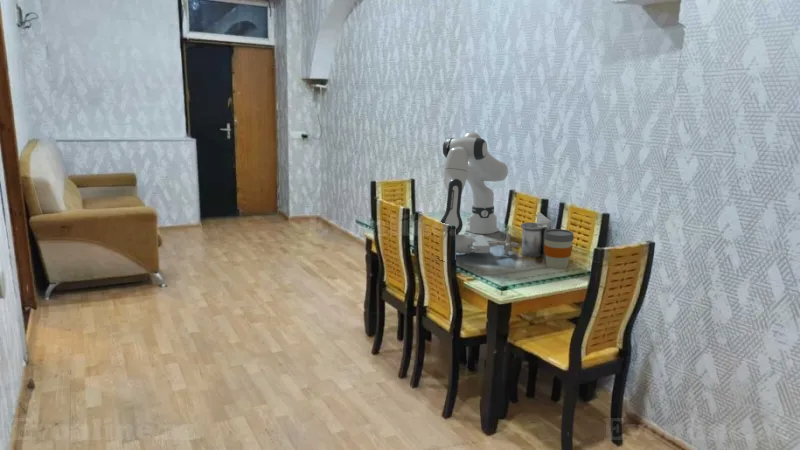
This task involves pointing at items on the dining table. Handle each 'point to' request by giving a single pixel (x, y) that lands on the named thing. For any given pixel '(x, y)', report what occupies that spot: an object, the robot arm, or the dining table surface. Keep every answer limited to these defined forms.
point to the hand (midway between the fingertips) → (496, 243)
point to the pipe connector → (507, 243)
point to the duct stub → (535, 236)
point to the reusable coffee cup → (558, 247)
